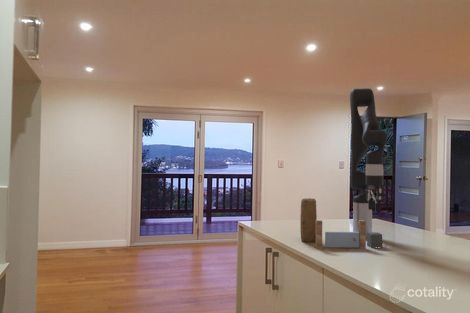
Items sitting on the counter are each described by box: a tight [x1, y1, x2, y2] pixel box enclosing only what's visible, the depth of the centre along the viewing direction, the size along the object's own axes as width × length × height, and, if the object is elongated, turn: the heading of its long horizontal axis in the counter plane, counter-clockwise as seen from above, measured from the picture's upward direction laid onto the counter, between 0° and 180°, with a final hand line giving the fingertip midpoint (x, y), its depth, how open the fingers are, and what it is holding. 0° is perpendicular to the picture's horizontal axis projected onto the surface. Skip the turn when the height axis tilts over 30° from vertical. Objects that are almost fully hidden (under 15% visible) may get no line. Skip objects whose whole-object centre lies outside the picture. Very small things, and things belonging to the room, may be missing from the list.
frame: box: [315, 219, 367, 250], centre depth 169 cm, size 2×21×12 cm, turn 91°
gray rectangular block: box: [366, 231, 383, 249], centre depth 173 cm, size 5×5×6 cm
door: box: [324, 231, 359, 248], centre depth 168 cm, size 3×14×6 cm, turn 91°
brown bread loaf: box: [299, 198, 318, 243], centre depth 186 cm, size 11×8×20 cm
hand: (374, 210), depth 173 cm, fingers open, 8 cm apart
